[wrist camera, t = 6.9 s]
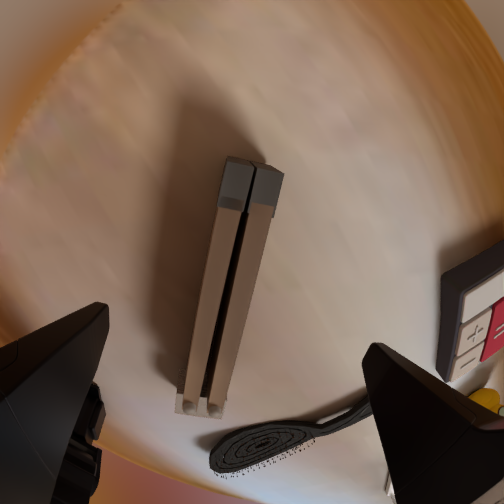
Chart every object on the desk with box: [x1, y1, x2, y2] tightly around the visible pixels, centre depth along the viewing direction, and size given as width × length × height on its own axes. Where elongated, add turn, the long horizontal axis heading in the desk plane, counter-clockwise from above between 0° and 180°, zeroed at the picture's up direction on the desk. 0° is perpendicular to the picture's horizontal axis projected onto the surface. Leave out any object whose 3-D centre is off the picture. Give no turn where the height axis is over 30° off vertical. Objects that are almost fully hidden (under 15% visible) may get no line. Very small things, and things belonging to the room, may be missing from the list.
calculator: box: [436, 240, 504, 383], centre depth 26 cm, size 11×4×15 cm
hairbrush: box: [209, 396, 373, 479], centre depth 30 cm, size 8×4×25 cm
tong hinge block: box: [175, 369, 227, 419], centre depth 25 cm, size 4×3×3 cm
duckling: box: [468, 388, 504, 416], centre depth 30 cm, size 11×5×10 cm, turn 102°
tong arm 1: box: [207, 161, 284, 418], centre depth 20 cm, size 1×19×6 cm, turn 168°
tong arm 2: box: [182, 156, 254, 415], centre depth 20 cm, size 1×19×6 cm, turn 166°
